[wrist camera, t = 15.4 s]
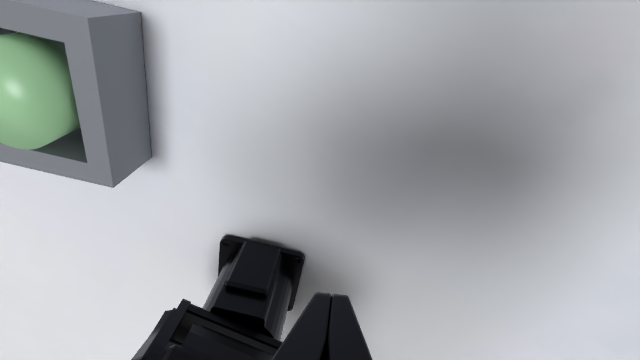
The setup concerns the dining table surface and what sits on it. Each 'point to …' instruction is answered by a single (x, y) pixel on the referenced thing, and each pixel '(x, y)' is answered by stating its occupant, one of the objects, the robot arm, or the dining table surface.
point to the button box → (90, 88)
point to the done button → (35, 91)
